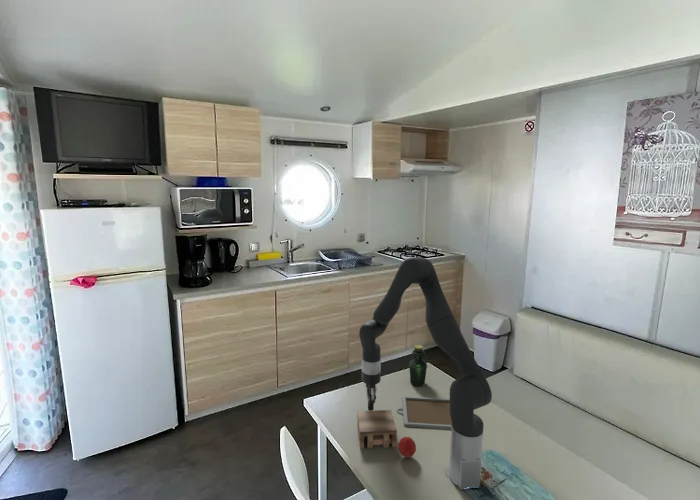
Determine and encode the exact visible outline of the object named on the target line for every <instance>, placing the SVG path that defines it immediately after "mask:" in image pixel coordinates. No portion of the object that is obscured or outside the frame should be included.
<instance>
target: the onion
mask: <svg viewBox="0 0 700 500" xmlns="http://www.w3.org/2000/svg"><path fill="white" fill-rule="evenodd" d="M397 446H398V451H399V453H400V455H402V457H404V458H405V459H408V458H411V457H412V456H414V455H415V453H416V451H417V446H416V442H415V440H414V439H413V438H412V437H410V435H406V436H404V437H402V438H401V439H400V440H399V442H398V445H397Z"/></svg>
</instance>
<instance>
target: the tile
mask: <svg viewBox="0 0 700 500" xmlns="http://www.w3.org/2000/svg"><path fill="white" fill-rule="evenodd" d="M378 445H379V446H380V445H382V446H383V435H373V446H378ZM389 445H392V443H391V436H390V434H389Z"/></svg>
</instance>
